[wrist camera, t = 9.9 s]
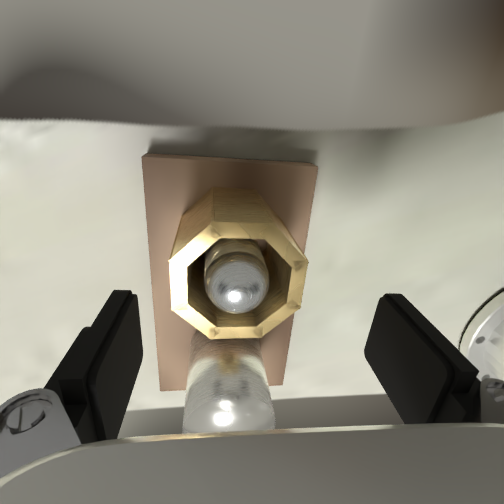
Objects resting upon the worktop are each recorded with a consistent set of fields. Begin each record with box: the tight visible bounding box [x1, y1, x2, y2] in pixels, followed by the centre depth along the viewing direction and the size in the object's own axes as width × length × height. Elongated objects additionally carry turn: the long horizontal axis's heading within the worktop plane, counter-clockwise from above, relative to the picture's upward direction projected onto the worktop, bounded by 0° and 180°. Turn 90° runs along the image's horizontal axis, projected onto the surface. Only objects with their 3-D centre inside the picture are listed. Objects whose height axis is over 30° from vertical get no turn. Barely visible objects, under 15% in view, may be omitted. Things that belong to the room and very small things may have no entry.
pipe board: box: [142, 153, 318, 391], centre depth 21 cm, size 10×18×2 cm, turn 176°
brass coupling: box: [168, 187, 309, 339], centre depth 16 cm, size 6×6×6 cm
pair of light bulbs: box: [183, 238, 276, 434], centre depth 18 cm, size 5×13×7 cm, turn 176°
